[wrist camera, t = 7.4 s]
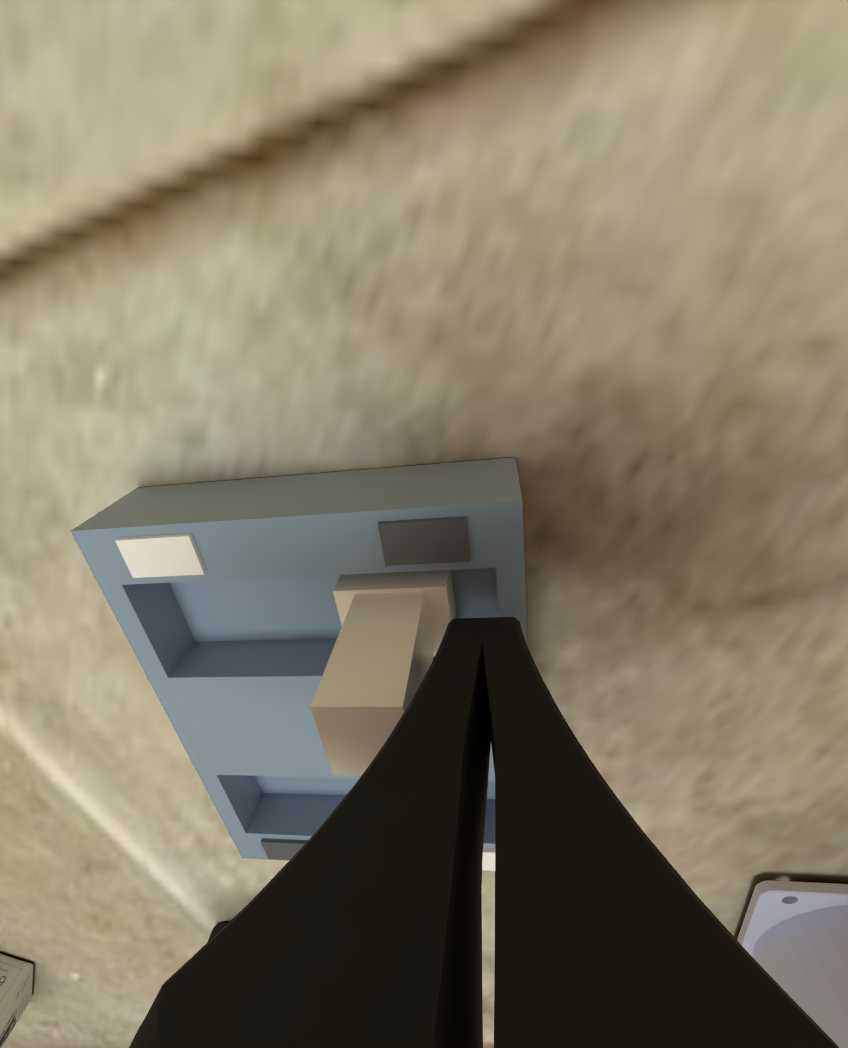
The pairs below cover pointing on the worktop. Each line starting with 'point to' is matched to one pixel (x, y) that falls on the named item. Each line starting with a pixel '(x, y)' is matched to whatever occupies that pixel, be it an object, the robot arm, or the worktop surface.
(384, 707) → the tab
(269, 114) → the worktop surface
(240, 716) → the dip bank
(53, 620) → the worktop surface
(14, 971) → the light bulb box
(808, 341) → the worktop surface
